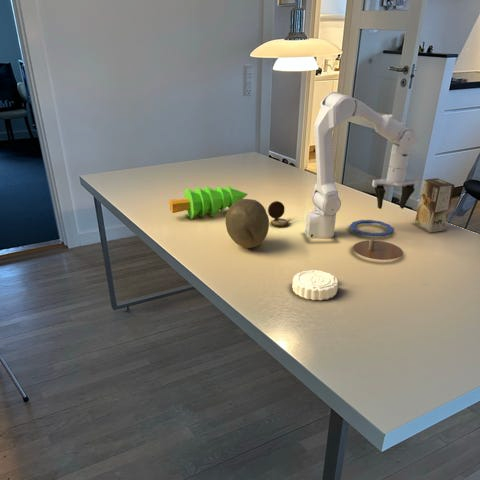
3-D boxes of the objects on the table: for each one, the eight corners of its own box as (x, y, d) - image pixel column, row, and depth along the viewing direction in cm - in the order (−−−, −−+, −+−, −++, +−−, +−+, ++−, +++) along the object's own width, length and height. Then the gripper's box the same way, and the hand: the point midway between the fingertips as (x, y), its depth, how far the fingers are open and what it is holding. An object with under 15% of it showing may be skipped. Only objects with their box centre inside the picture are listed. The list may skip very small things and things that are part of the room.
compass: (274, 228, 170) (275, 208, 167) (267, 220, 177) (267, 201, 173) (295, 226, 172) (297, 206, 169) (287, 218, 179) (288, 199, 175)
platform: (359, 263, 146) (361, 249, 144) (347, 244, 159) (348, 231, 157) (409, 262, 147) (412, 249, 145) (392, 243, 160) (395, 230, 157)
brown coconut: (276, 243, 159) (278, 198, 151) (255, 258, 149) (256, 210, 141) (239, 234, 165) (239, 191, 157) (216, 249, 155) (215, 202, 147)
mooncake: (283, 289, 131) (283, 277, 130) (310, 276, 139) (311, 264, 137) (318, 305, 124) (319, 293, 122) (346, 290, 131) (347, 278, 130)
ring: (356, 239, 162) (356, 235, 162) (345, 224, 174) (346, 220, 174) (397, 238, 163) (398, 234, 162) (384, 223, 175) (385, 219, 174)
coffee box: (445, 230, 170) (456, 184, 162) (430, 232, 168) (440, 186, 160) (427, 221, 177) (437, 177, 169) (413, 224, 175) (422, 179, 167)
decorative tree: (167, 183, 173) (244, 172, 182) (167, 209, 182) (241, 197, 191) (176, 204, 167) (256, 192, 176) (175, 229, 176) (251, 216, 186)
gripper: (379, 170, 154) (373, 211, 161) (424, 169, 155) (415, 211, 162) (373, 164, 160) (366, 205, 167) (416, 164, 161) (408, 204, 168)
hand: (390, 207), depth 165 cm, fingers open, 7 cm apart
